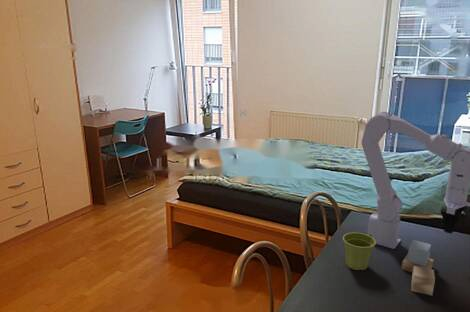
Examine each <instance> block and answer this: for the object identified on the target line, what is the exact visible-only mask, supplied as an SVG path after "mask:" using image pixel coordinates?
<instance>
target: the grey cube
mask: <svg viewBox="0 0 470 312" xmlns="http://www.w3.org/2000/svg"><path fill="white" fill-rule="evenodd" d="M408 247H409V248H408V253H407V254H408V259H407V261H408V262H411V263H414V264H417V265H421V266H424V267H426V265H427V263H428V260H429V258H430V255H431V249H432V243H431V244H430V243H426V242H422V241H419V240H415V239H412V240H411V242H410V244H409V246H408Z"/></svg>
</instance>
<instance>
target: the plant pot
mask: <svg viewBox="0 0 470 312" xmlns="http://www.w3.org/2000/svg"><path fill="white" fill-rule="evenodd" d="M342 241H343V242H344V247H345V248H344V249H345V262H346V265H347V267H348V268H349V269H350V270H355V271H360V270H361V271H364V270H367V269H368V266H369V262H370V259H371V255H372V252H373V249H374V247H375V246H376V245H377V244H376V241H375V239H374V238H372V237H371V236H369V235H367V233H362V232H361V233H360V232H349V233H345V234H344V235H343V236H342Z"/></svg>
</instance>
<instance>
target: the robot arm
mask: <svg viewBox="0 0 470 312" xmlns="http://www.w3.org/2000/svg"><path fill="white" fill-rule="evenodd" d="M387 132H388V133H389V134H390V135H391V134H398V133H400V134H403V135H405V136H406V137H409V138H410V139H413V140H415V141H417V142H420V143H422V144H424V145H425V147H426V151H428V152H430V153H431V154H434V155H436V156H437V157H439V158H441V159H443V160H446V162H447V161H448V162H449V161H450V163H451V165H450V170H449V172H448V179H447V183H446V184H447V185H446V189H445V196H444V198H443V203H444V204H445V206H446V207H447V208H441V209H440V215H441V217H442V221H443V222H442V223H443V232H444V233H446V234H451V235H452V234H453V232H454V230H455V228H456V225H458V222H459V220H460V219H461V218H462V216H464V215H463V213H462V212H463V211H464V210H465V209H466V208H467V207H470V202H469V201H467V200H468V195H469V190H470V147H469V146H467V145H463V144H462V143H460V142H459V143H457V142H455V141H453V140H451V139H449V138H447V137H448V136H447V135H446V134H443V133H442V134H440V133H436V134H430V133H427V131H424V130H422V128H419V127H418V126H415V125H413V124H412V123H410V122H408V121H407V120H405V119H403V118H401V117H399V116H397V115H394V114H393V115H392V114H391V113H390V112H388V111H380V112H379V113H377V114H376V115H374V116H372V117H371V118H370V119H369V120H368V122H367V123H365V126H364V132H363V135H362V139H361V147H362V150H363V153H364V156H365V159H366V163H367V166H368V168H369V172H370V175H371V178H372V181H373V185H374V188H375V191H376V202H377V211H376V212H377V213H371V215H370V216H369V219H368V223H367V233H366V235H369V236H371V237H372V238H374V239H375V241H376V244H375V245H379V246H383V247H385V248H389V249H392V250H395V249H396V248H397V246H398V245H399V243H400V242H401V241H402V240H401V238H398V237H399V233H400V232H399V231H400V224H401V216H400V214H399V212H400V210H401V209H402V207H403V202H402V199H401V198H400V197H399V196H398V195H397V193H396V190H395V189H394V188H393V185H392V182H391V179H390V177H389V173H388V170H387V166H386V163H385V160H384V156H383V154H382V151H381V147H380V144H379V143H380V141H381V140H382V138H383V137H384V135H385V134H386V133H387Z"/></svg>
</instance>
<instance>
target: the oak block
mask: <svg viewBox="0 0 470 312" xmlns="http://www.w3.org/2000/svg"><path fill="white" fill-rule="evenodd" d="M407 259H408V253H407V254H406V256H404V259H403V260H402V262H401V270H403V271H406V272H408V273H412V274H413V267H414V266H417V267H422V268H427V269H432V268H433V265H434V258H433V259H432V258H430V257H429V260H428V263H427V265H426V267H424V266H421V265H417V264H414V263H411V262H408V261H407ZM432 270H433V269H432Z"/></svg>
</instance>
